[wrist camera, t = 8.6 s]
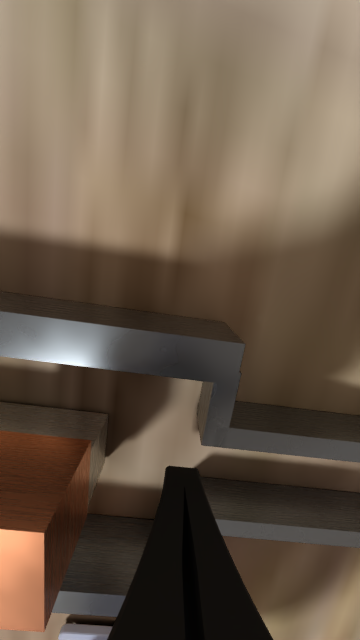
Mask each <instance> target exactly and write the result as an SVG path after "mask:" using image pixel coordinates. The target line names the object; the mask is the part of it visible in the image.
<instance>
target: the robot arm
mask: <svg viewBox="0 0 360 640" xmlns="http://www.w3.org/2000/svg"><path fill="white" fill-rule="evenodd" d="M59 640H273V638H272V637H271V635H270V633H269V631H268V629H267V627H266V625H265V624H264V622H263V620H262V618H261V616H260V614H259V612H258V611H257V609H256V607H255V605H254V603H253V601H252V599H251V597H250V595H249V593H248V591H247V589H246V587H245V585H244V583H243V581H242V579H241V577H240V575H239V573H238V570H237V568H236V566H235V564H234V562H233V560H232V557H231V555H230V553H229V551H228V549H227V546H226V544H225V542H224V539H223V537H222V535H221V532H220V530H219V527H218V525H217V523H216V520H215V518H214V515H213V513H212V510H211V507H210V505H209V502H208V499H207V496H206V494H205V491H204V488H203V485H202V481H201V478H200V475H199V471H198V470H197V469H196V468H185V467H175V466H168V467H166V471H165V477H164V484H163V491H162V495H161V499H160V503H159V506H158V509H157V513H156V516H155V519H154V523H153V526H152V529H151V532H150V534H149V537H148V540H147V543H146V546H145V548H144V551H143V554H142V557H141V559H140V562H139V565H138V567H137V570H136V572H135V575H134V577H133V580H132V582H131V585H130V587H129V590H128V592H127V595H126V597H125V599H124V602H123V604H122V606H121V609H120V611H119V613H118V616H117V618H116V620H115V623H114V625H113V626H100V625H85V624H70V623H68V624H64V625H63V626H62V628H61V631H60V634H59Z"/></svg>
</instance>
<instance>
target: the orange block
mask: <svg viewBox="0 0 360 640" xmlns="http://www.w3.org/2000/svg"><path fill="white" fill-rule="evenodd" d="M107 425H108V414H102V413H94V412H85V411H76V410H67V409H59V408H50V407H41V406H32V405H23V404H15V403H6V402H0V629H6V630H22V631H37V632H44V631H45V629H46V626H47V623H48V621H49V618H50V615H51V612H52V610H53V607H54V604H55V602H56V599H57V596H58V593H59V591H60V588H61V585H62V583H63V580H64V577H65V574H66V572H67V569H68V566H69V564H70V561H71V558H72V555H73V553H74V550H75V547H76V545H77V542H78V539H79V536H80V534H81V531H82V528H83V526H84V523H85V520H86V517H87V507H88V505H89V502H90V500H91V497H92V494H93V492H94V489H95V486H96V484H97V481H98V478H99V476H100V473H101V471H102V468H103V465H104V463H105V451H106V438H107Z"/></svg>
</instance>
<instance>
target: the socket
mask: <svg viewBox="0 0 360 640" xmlns="http://www.w3.org/2000/svg"><path fill="white" fill-rule="evenodd" d="M244 348H245V343H244V342H243V341H242V340H241V339H240V338H239V337H238V336H237V335H236V334H235V333H234V332H233V331H232V330H231V329H230V328H229V326H228V325H227V324H226V323H225V322H218V321H211V320H204V319H196V318H189V317H182V316H175V315H167V314H160V313H153V312H146V311H138V310H131V309H124V308H117V307H110V306H102V305H95V304H88V303H81V302H73V301H66V300H59V299H52V298H44V297H37V296H30V295H23V294H16V293H8V292H1V291H0V356H3V357H11V358H19V359H27V360H36V361H44V362H52V363H60V364H68V365H76V366H84V367H92V368H100V369H108V370H116V371H124V372H132V373H140V374H148V375H156V376H164V377H173V378H181V379H189V380H197V381H203V383H202V389H201V394H200V399H199V405H198V410H197V419H198V426H199V433H200V440H201V445H204V446H213V447H222V448H231V449H240V450H250V451H259V452H268V453H277V454H286V455H295V456H305V457H314V458H323V459H332V460H341V461H350V462H359V463H360V416H355V415H347V414H339V413H330V412H322V411H314V410H306V409H297V408H289V407H281V406H272V405H264V404H256V403H247V402H239V401H235V399H236V395H237V390H238V386H239V382H240V377H241V372H240V366H241V362H242V357H243V353H244ZM200 478H201V481H202V485H203V488H204V491H205V494H206V496H207V499H208V502H209V505H210V507H211V510H212V513H213V515H214V518H215V520H216V523H217V525H218V527H219V530H220V532H221V535H222V536H231V537H243V538H254V539H265V540H277V541H288V542H299V543H310V544H322V545H333V546H344V547H355V548H360V493H353V492H343V491H333V490H323V489H314V488H304V487H294V486H284V485H274V484H265V483H255V482H245V481H235V480H225V479H215V478H206V477H200ZM153 523H154V520H147V519H136V518H125V517H114V516H103V515H92V514H87V517H86V520H85V523H84V526H83V528H82V531H81V534H80V536H79V539H78V542H77V545H76V547H75V550H74V553H73V555H72V558H71V561H70V564H69V566H68V569H67V572H66V574H65V577H64V580H63V583H62V585H61V588H60V591H59V593H58V596H57V599H56V602H55V604H54V607H53V610H52V613H66V614H81V615H96V616H110V617H117V616H118V613H119V611H120V609H121V606H122V604H123V602H124V599H125V597H126V595H127V592H128V590H129V587H130V585H131V582H132V580H133V577H134V575H135V572H136V570H137V567H138V565H139V562H140V559H141V557H142V554H143V551H144V548H145V546H146V543H147V540H148V537H149V534H150V532H151V529H152V526H153Z"/></svg>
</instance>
